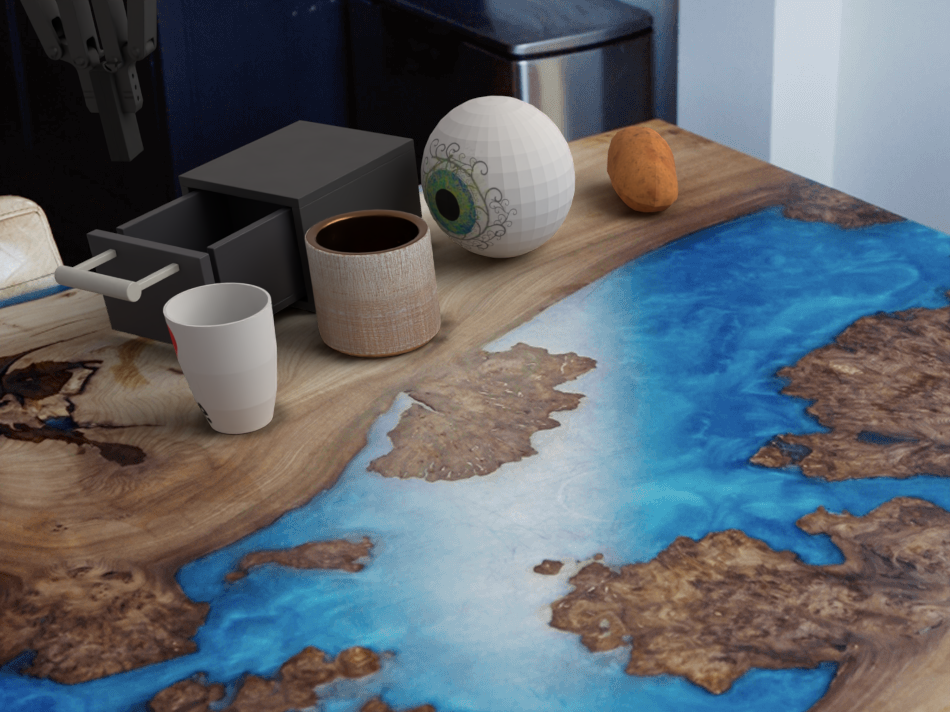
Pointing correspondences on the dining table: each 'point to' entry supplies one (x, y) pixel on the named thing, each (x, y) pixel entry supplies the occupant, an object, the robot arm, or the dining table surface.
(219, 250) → the drawer
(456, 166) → the decorative object
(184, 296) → the cup
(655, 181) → the potato
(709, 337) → the dining table surface
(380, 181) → the cabinet
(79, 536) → the dining table surface
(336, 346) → the planter
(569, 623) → the dining table surface
